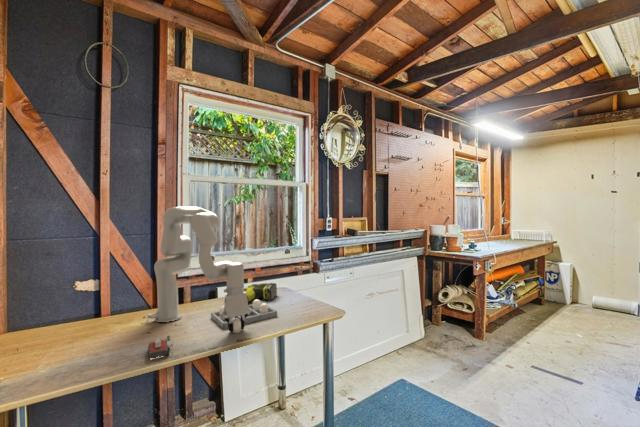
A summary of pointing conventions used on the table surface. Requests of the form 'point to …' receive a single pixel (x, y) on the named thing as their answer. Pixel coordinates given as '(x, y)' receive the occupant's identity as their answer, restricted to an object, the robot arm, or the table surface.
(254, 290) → the reciprocating saw
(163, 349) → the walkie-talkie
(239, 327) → the egg
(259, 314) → the egg crate
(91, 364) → the table surface
